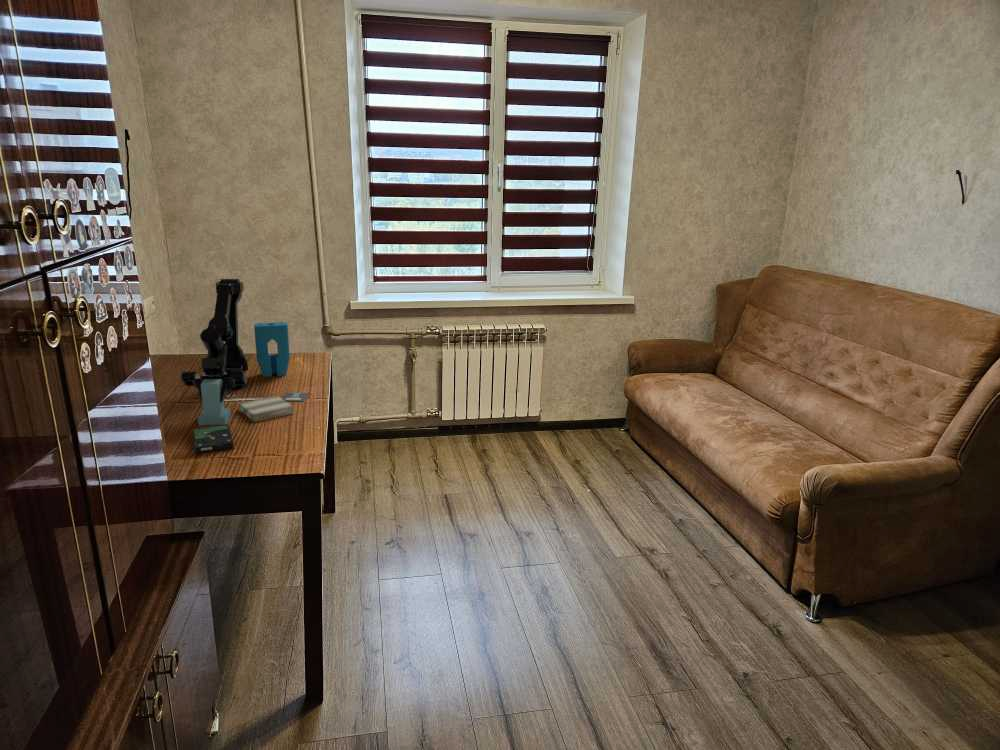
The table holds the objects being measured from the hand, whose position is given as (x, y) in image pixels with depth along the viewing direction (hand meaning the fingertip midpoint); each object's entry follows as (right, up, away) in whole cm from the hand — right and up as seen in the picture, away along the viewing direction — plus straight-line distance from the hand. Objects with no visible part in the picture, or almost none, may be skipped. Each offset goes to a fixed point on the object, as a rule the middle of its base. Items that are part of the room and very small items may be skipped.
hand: (211, 402), depth 208 cm
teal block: (0, -6, +3) cm, 7 cm away
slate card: (+18, +1, +25) cm, 31 cm away
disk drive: (+6, -12, -12) cm, 18 cm away
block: (+3, +9, +49) cm, 50 cm away
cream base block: (+13, -4, +12) cm, 18 cm away
